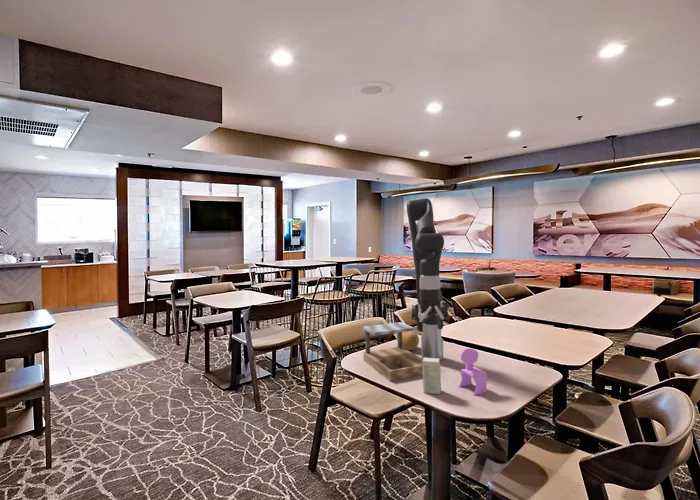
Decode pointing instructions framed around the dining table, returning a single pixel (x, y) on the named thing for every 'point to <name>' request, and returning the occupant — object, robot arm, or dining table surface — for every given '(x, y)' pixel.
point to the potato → (409, 340)
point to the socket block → (392, 353)
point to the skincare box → (431, 375)
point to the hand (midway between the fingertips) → (430, 330)
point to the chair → (472, 372)
